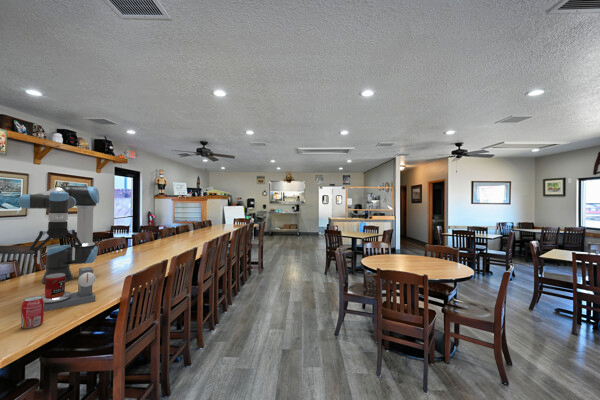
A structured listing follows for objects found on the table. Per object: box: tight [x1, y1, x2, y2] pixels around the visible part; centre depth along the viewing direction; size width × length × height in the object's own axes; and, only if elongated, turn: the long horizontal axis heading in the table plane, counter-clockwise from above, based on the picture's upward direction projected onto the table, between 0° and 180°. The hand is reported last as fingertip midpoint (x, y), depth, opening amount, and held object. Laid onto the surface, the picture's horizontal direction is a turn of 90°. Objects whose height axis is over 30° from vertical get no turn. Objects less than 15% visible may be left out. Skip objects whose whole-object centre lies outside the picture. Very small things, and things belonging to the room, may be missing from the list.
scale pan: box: [41, 291, 73, 303], centre depth 138 cm, size 14×14×2 cm
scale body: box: [44, 266, 97, 313], centre depth 141 cm, size 14×24×17 cm, turn 138°
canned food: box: [44, 273, 66, 299], centre depth 138 cm, size 8×8×11 cm
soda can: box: [20, 295, 45, 329], centre depth 116 cm, size 7×7×12 cm
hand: (56, 261), depth 138 cm, fingers open, 13 cm apart
